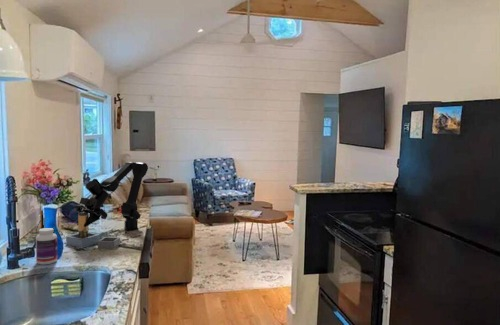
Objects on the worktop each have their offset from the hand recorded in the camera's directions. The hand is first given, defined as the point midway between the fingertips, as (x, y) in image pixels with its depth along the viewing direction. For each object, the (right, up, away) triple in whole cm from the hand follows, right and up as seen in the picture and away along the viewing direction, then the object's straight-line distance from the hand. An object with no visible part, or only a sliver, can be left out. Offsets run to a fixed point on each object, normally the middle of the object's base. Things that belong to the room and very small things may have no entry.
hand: (81, 225), depth 187 cm
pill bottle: (-3, -11, -26) cm, 28 cm away
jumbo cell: (0, -6, +2) cm, 7 cm away
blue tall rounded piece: (-23, -7, +18) cm, 30 cm away
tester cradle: (+15, -10, -2) cm, 18 cm away
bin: (0, -9, +2) cm, 9 cm away
